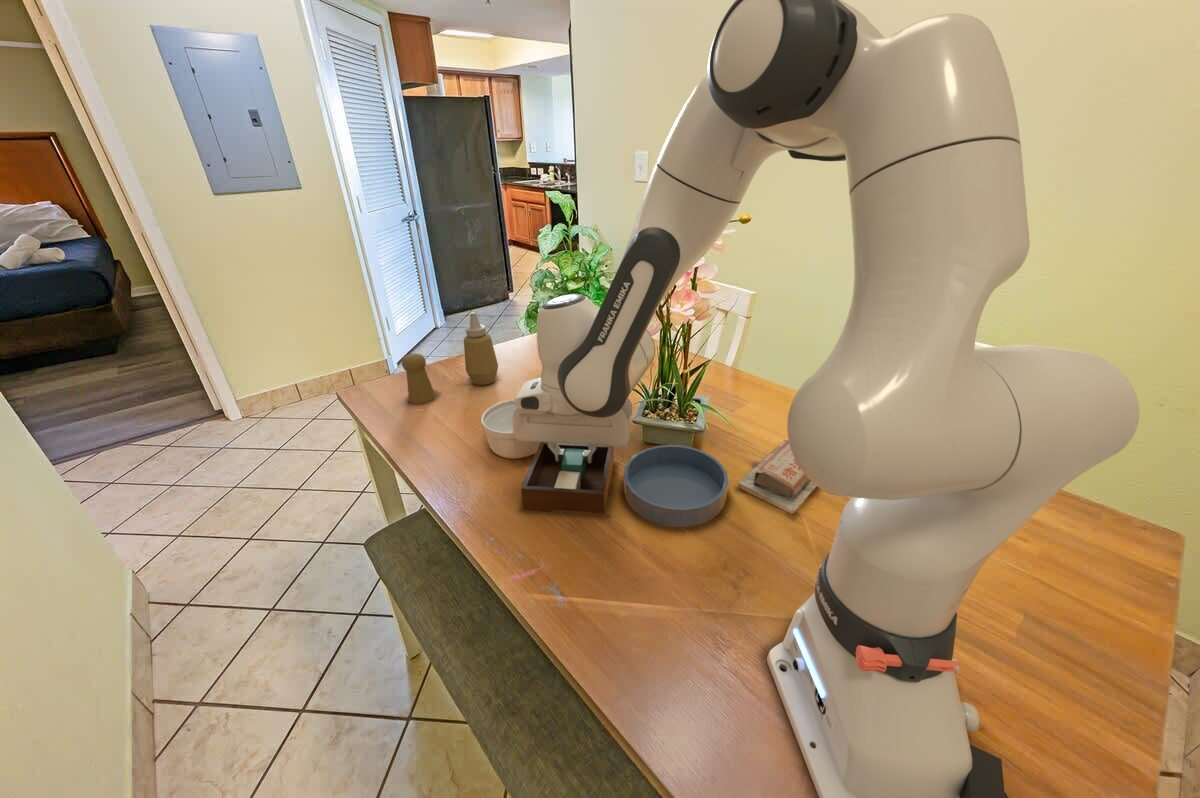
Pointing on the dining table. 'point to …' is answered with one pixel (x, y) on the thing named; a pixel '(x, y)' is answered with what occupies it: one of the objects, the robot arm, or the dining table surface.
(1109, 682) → the dining table surface
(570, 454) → the teal rectangular block
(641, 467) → the bowl
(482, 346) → the squeeze bottle
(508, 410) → the ramekin
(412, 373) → the pepper mill
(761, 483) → the packaged product
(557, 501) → the tray
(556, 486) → the beige block
